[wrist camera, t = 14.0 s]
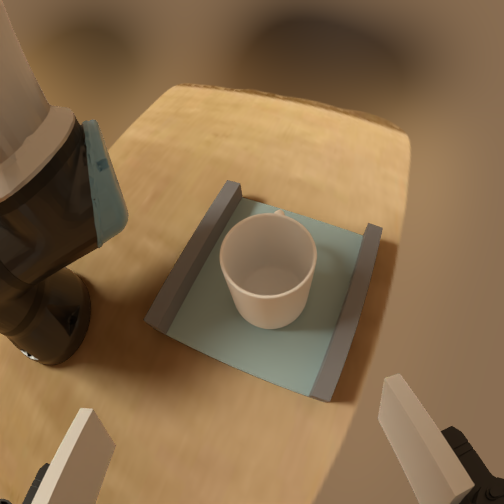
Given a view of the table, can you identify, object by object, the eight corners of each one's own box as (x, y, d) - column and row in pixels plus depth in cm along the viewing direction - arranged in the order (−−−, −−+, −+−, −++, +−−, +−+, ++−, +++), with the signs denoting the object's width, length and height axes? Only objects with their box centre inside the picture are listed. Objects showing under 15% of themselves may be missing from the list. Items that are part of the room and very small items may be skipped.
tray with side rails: (324, 402, 29) (329, 401, 26) (154, 328, 35) (143, 320, 32) (375, 242, 39) (382, 227, 36) (230, 196, 44) (227, 180, 41)
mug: (314, 246, 38) (324, 192, 29) (300, 336, 33) (310, 306, 24) (249, 237, 40) (240, 182, 31) (227, 323, 34) (207, 288, 25)
